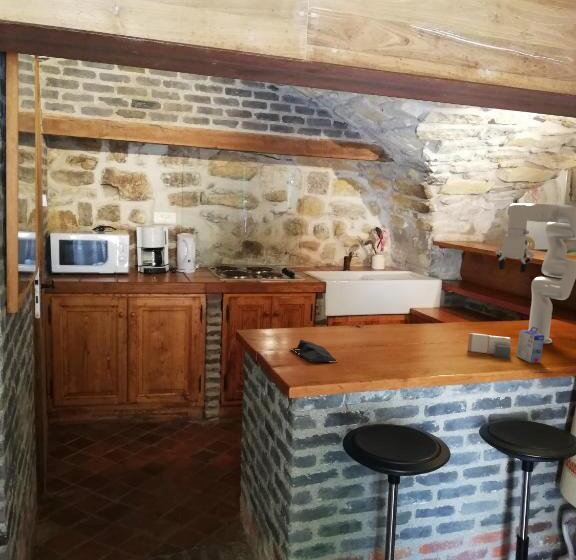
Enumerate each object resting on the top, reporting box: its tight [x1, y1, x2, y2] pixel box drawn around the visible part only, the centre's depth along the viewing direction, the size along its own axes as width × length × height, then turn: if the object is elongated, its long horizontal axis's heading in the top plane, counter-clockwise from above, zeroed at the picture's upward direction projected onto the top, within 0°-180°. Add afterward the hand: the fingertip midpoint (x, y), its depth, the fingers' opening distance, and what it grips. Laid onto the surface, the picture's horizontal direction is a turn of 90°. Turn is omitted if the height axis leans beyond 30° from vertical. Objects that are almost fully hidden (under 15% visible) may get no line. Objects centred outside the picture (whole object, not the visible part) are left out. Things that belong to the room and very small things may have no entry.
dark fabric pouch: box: [292, 339, 337, 363], centre depth 239 cm, size 15×22×5 cm
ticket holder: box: [486, 335, 512, 360], centre depth 252 cm, size 10×9×8 cm
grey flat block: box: [467, 332, 489, 354], centre depth 254 cm, size 2×8×8 cm, turn 75°
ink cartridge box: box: [515, 327, 544, 364], centre depth 245 cm, size 10×6×14 cm, turn 15°
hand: (512, 270), depth 251 cm, fingers open, 9 cm apart
